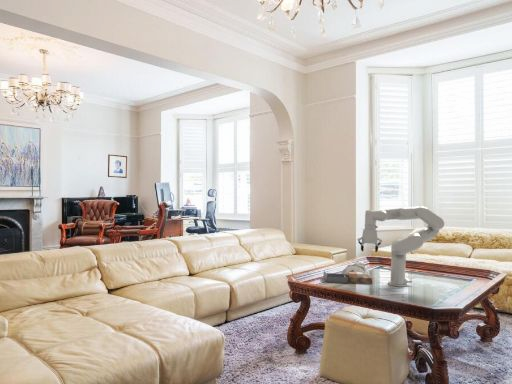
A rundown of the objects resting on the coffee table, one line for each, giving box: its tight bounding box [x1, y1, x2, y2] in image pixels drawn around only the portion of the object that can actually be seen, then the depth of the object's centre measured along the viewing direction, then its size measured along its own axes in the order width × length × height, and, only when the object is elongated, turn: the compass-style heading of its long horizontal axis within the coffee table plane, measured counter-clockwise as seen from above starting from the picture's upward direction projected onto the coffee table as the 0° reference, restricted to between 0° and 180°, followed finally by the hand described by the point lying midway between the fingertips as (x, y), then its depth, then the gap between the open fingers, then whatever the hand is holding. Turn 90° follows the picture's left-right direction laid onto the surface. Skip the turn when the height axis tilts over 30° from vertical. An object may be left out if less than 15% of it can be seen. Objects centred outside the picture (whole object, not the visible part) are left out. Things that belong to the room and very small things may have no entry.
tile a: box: [355, 272, 364, 277], centre depth 272 cm, size 4×6×2 cm
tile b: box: [348, 271, 356, 277], centre depth 272 cm, size 4×6×2 cm
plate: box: [345, 274, 373, 285], centre depth 272 cm, size 16×12×4 cm
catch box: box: [323, 270, 349, 284], centre depth 272 cm, size 15×14×5 cm
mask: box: [340, 261, 369, 277], centre depth 299 cm, size 20×9×30 cm
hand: (369, 251), depth 272 cm, fingers open, 9 cm apart
